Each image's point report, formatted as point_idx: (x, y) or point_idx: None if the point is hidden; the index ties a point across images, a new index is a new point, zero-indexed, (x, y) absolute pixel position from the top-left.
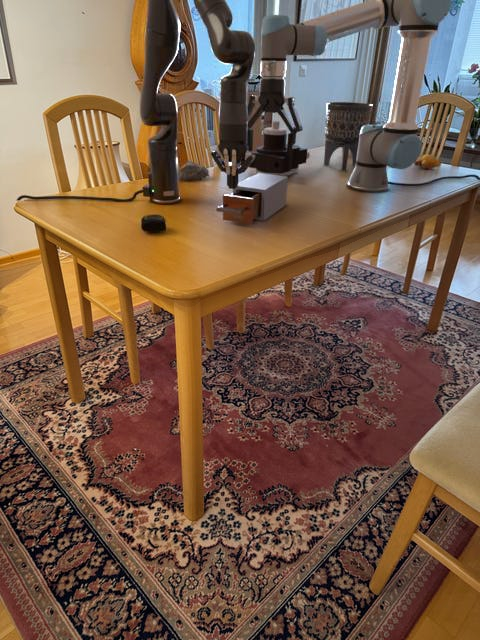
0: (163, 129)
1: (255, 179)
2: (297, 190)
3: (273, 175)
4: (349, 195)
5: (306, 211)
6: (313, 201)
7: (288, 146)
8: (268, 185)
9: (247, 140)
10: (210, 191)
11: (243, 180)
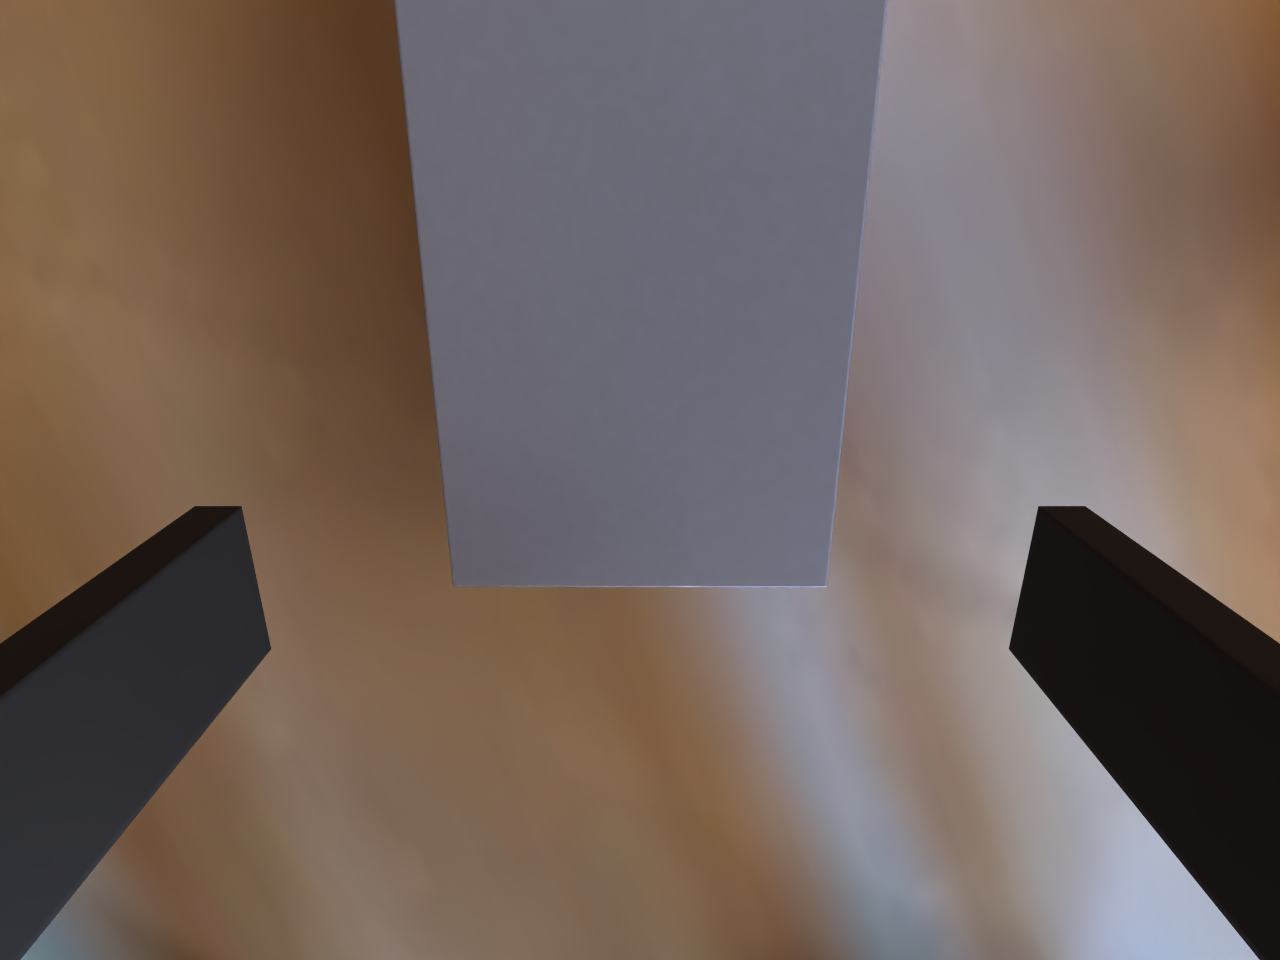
0: None
1: (739, 251)
2: (596, 860)
3: (620, 560)
4: (224, 900)
5: (282, 387)
6: (367, 665)
7: (96, 594)
8: (442, 2)
9: (1240, 623)
10: (1257, 543)
11: (871, 107)
